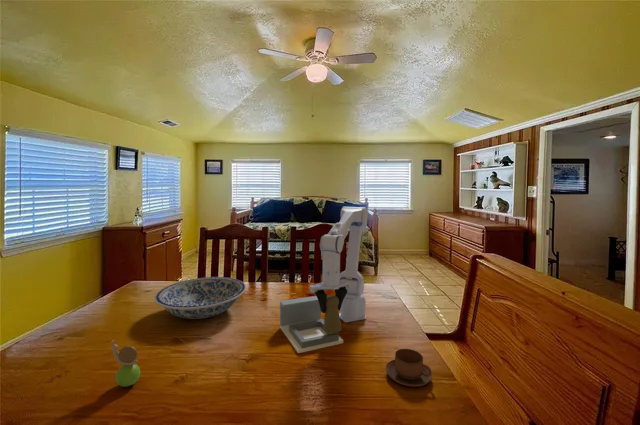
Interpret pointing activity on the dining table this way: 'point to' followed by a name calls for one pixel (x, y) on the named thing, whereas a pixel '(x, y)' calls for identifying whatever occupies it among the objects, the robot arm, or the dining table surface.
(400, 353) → the cup and saucer
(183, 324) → the dining table surface
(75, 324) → the dining table surface
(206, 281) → the ceramic bowl
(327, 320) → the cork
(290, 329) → the socket block
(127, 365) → the snail figurine
